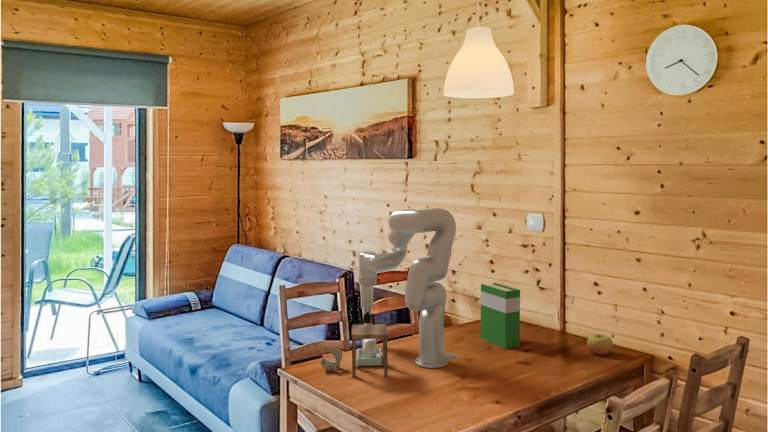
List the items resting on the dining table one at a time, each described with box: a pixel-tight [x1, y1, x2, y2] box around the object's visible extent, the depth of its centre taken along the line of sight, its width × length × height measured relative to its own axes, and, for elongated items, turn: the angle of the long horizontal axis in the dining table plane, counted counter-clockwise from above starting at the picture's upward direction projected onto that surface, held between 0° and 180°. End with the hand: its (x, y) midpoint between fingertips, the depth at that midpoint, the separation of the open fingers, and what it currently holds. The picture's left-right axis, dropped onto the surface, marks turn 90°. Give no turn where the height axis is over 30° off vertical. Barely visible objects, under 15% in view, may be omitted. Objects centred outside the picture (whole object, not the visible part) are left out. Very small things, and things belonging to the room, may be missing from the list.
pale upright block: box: [362, 339, 377, 358], centre depth 242 cm, size 5×5×7 cm
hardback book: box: [479, 282, 521, 349], centre depth 265 cm, size 18×7×24 cm, turn 26°
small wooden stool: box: [351, 323, 389, 378], centre depth 230 cm, size 13×14×16 cm
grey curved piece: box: [320, 345, 343, 373], centre depth 232 cm, size 9×6×10 cm
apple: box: [586, 333, 614, 356], centre depth 249 cm, size 10×10×8 cm
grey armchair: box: [356, 339, 383, 367], centre depth 247 cm, size 9×23×5 cm, turn 2°
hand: (367, 322), depth 264 cm, fingers closed
